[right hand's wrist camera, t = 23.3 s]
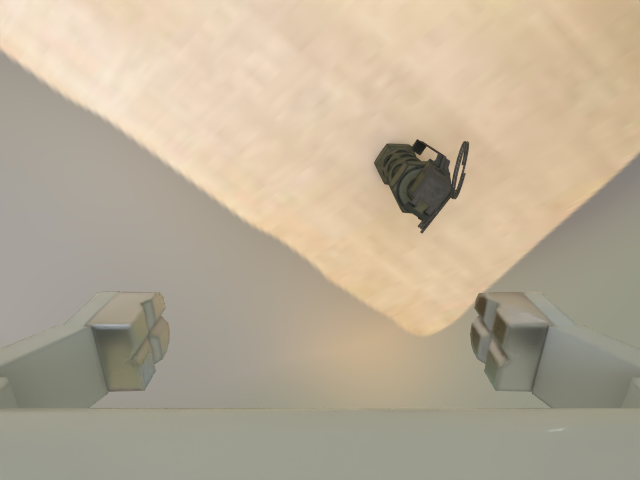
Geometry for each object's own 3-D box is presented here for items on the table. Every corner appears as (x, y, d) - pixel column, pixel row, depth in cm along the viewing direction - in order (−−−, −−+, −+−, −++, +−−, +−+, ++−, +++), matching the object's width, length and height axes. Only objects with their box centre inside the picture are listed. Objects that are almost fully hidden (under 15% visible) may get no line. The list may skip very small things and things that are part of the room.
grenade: (403, 202, 47) (437, 252, 34) (363, 177, 46) (381, 218, 32) (449, 139, 45) (508, 165, 31) (408, 110, 43) (449, 124, 30)
